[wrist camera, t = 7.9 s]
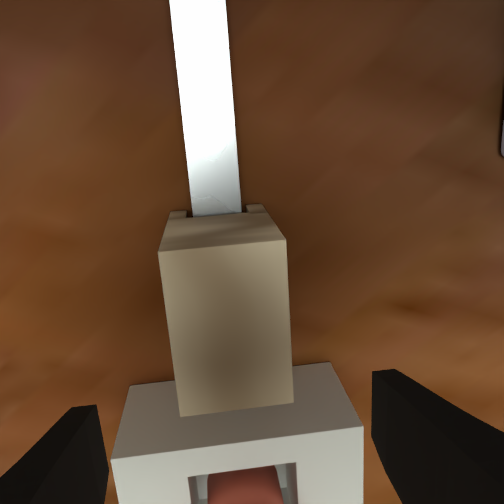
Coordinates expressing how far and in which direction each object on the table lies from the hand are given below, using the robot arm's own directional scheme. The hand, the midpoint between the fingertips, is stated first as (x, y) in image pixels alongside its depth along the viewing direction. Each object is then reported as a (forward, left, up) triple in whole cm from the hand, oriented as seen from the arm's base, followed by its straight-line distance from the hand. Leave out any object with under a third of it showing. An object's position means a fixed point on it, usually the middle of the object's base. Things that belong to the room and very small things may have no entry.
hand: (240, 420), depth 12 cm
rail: (0, -5, -10) cm, 11 cm away
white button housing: (0, +8, -10) cm, 13 cm away
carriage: (0, -1, -10) cm, 10 cm away
